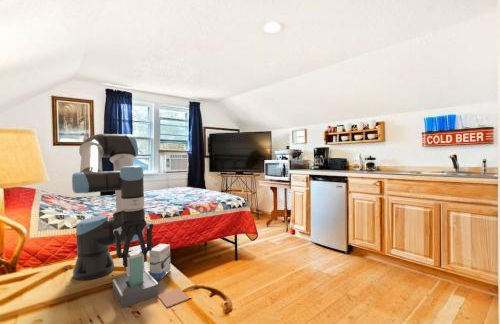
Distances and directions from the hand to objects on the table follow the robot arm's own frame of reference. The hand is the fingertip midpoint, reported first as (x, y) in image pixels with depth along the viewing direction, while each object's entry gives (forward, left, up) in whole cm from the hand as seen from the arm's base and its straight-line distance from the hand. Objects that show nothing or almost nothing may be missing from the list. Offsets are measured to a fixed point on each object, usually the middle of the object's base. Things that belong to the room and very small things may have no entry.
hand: (135, 272), depth 94 cm
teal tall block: (0, 0, -6) cm, 6 cm away
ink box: (-8, +12, -8) cm, 16 cm away
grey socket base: (0, 0, -7) cm, 7 cm away
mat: (+12, +10, -7) cm, 17 cm away
